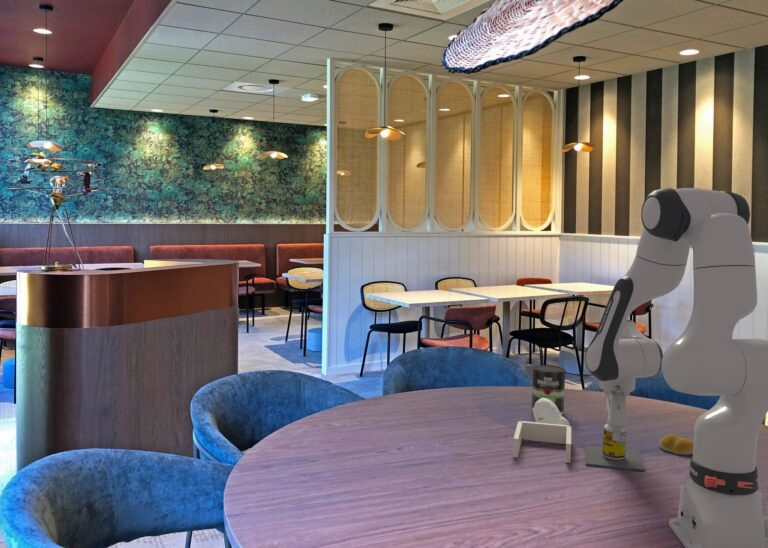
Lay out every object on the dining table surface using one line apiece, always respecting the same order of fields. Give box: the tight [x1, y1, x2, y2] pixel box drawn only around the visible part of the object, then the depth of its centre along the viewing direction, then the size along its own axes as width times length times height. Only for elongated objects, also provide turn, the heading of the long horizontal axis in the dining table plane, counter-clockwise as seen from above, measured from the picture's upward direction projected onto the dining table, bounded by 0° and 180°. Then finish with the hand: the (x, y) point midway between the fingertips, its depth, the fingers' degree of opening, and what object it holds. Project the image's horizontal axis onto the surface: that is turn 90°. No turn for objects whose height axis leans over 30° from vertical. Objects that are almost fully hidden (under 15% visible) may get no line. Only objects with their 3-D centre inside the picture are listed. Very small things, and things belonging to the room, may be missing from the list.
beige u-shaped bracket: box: [512, 420, 572, 464], centre depth 180 cm, size 16×14×5 cm
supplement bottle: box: [602, 416, 627, 460], centre depth 173 cm, size 6×6×10 cm
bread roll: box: [658, 433, 694, 456], centre depth 181 cm, size 8×9×4 cm
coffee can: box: [531, 364, 567, 415], centre depth 215 cm, size 10×10×14 cm
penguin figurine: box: [532, 398, 571, 426], centre depth 197 cm, size 6×8×12 cm
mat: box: [584, 445, 646, 472], centre depth 174 cm, size 14×14×1 cm
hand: (614, 434), depth 173 cm, fingers open, 8 cm apart
